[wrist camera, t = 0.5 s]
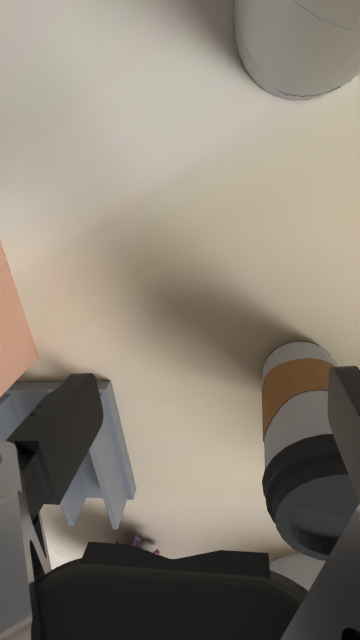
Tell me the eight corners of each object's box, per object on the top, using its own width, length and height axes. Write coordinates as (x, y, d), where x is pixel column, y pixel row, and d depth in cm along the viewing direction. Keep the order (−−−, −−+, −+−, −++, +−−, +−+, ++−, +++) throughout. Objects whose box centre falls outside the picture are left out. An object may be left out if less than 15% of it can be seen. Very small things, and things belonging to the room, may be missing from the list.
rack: (-34, 382, 38) (-73, 415, 33) (110, 380, 35) (91, 416, 31) (11, 483, 45) (-16, 523, 40) (136, 488, 42) (123, 532, 37)
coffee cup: (323, 413, 34) (385, 583, 20) (241, 392, 34) (246, 547, 20) (360, 341, 30) (465, 492, 16) (267, 319, 30) (295, 448, 17)
